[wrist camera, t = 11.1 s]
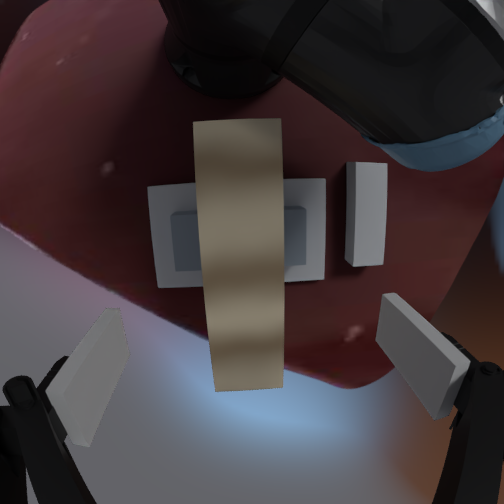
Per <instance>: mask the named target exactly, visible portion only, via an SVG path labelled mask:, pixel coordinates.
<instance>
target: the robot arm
mask: <svg viewBox="0 0 504 504" xmlns="http://www.w3.org/2000/svg"><path fill="white" fill-rule="evenodd" d="M159 2H160V5H161V7H162V9H163V11H164V13H165V15H166V18H167V20H168V24H167V27H166V31H165V38H164V44H165V52H166V55H167V58H168V61H169V63H170V65H171V66H172V68H173V70H174V71H175V73H176V74H177V76H178V77H179V78H180V79H181V80H182V81H183V82H184V83H185V84H187V85H188V86H189V87H191V88H192V89H194V90H196V91H198V92H200V93H202V94H205V95H208V96H211V97H216V98H223V99H238V98H245V97H250V96H253V95H256V94H259V93H261V92H264V91H266V90H268V89H269V88H271V87H272V86H274V85H275V84H276V83H278V82H279V81H280V80H281V79H282V78H283V77H285V78H286V79H288V80H289V81H291V82H292V83H294V84H295V85H297V86H298V87H300V88H301V89H303V90H304V91H305V92H307V93H308V94H310V95H311V96H313V97H314V98H315V99H317V100H318V101H320V102H321V103H322V104H324V105H325V106H326V107H328V108H329V109H330V110H332V111H333V112H334V113H336V114H337V115H338V116H340V117H341V118H342V119H344V120H345V121H346V122H347V123H349V124H350V125H351V126H352V127H354V128H355V129H356V130H357V131H359V132H360V134H361V136H362V137H363V138H364V139H365V140H366V141H368V142H369V143H371V144H373V145H375V146H378V147H380V148H381V149H382V150H384V151H385V152H386V153H387V154H389V155H390V156H391V157H392V158H394V159H395V160H396V161H397V162H399V163H400V164H402V165H404V166H406V167H408V168H412V169H418V170H421V171H427V172H430V171H442V170H447V169H451V168H454V167H457V166H460V165H462V164H465V163H467V162H469V161H471V160H473V159H475V158H477V157H478V156H480V155H481V154H483V153H484V152H486V151H487V150H488V149H490V148H491V147H492V146H493V145H494V144H495V143H496V142H497V141H498V140H499V139H500V138H501V137H502V135H503V134H504V0H159ZM376 342H377V343H378V344H379V345H380V347H381V348H382V349H383V351H384V352H385V353H386V355H387V356H388V357H389V359H390V360H391V361H392V363H393V364H394V366H395V367H396V368H397V369H398V371H399V372H400V373H401V375H402V376H403V378H404V379H405V380H406V382H407V383H408V385H409V386H410V387H411V389H412V390H413V391H414V393H415V394H416V395H417V397H418V398H419V400H420V401H421V402H422V404H423V405H424V407H425V408H426V410H427V411H428V412H429V414H430V415H431V417H432V418H433V420H437V419H441V418H444V417H446V416H449V414H450V412H451V410H452V407H453V405H455V407H456V408H457V409H458V411H457V414H456V416H455V418H454V420H453V422H452V424H451V426H450V428H449V429H452V427H453V430H452V435H451V439H450V444H449V448H448V452H447V456H446V460H445V463H444V467H443V471H442V474H441V477H440V481H439V484H438V487H437V490H436V493H435V496H434V499H433V502H432V504H497V500H498V495H499V488H500V481H501V472H502V464H503V461H504V370H502V369H501V368H500V367H499V366H498V365H496V364H495V363H492V362H479V361H478V360H477V359H475V357H473V356H472V355H471V354H470V353H469V352H468V351H467V350H466V349H465V348H463V346H461V345H460V344H458V342H457V341H456V340H455V339H454V338H453V337H452V336H449V335H447V334H445V333H443V332H441V333H440V332H439V331H438V330H437V329H435V328H434V327H433V326H432V325H431V324H430V323H429V322H428V321H427V320H425V319H424V318H423V317H422V316H421V315H420V314H419V313H418V312H417V311H415V310H414V309H413V308H412V307H411V306H410V305H409V304H407V303H406V302H405V301H404V300H403V299H402V298H401V297H399V296H398V295H397V294H396V293H389V294H382V302H381V309H380V316H379V322H378V329H377V335H376ZM129 356H130V352H129V348H128V344H127V340H126V336H125V331H124V327H123V322H122V318H121V313H120V309H119V308H106V309H105V310H104V311H103V313H102V314H101V315H100V316H99V318H98V319H97V320H96V322H95V323H94V324H93V326H92V327H91V328H90V330H89V331H88V332H87V333H86V335H85V336H84V338H83V339H82V340H81V341H80V343H79V344H78V346H77V347H76V348H75V350H74V351H73V352H72V354H71V355H70V356H64V357H62V358H61V359H60V360H58V361H57V362H56V363H55V364H54V365H53V367H52V368H51V371H49V372H48V373H47V376H46V377H45V378H44V379H43V381H42V382H41V383H40V384H39V386H38V387H37V389H36V387H35V385H34V383H33V381H32V379H31V378H29V377H28V376H22V375H21V376H16V377H14V378H11V379H10V380H8V381H7V382H6V383H5V385H4V386H3V393H4V395H5V397H6V399H7V400H8V402H9V404H10V406H0V504H28V501H27V486H26V468H27V472H28V475H29V478H30V481H31V484H32V487H33V490H34V492H35V495H36V497H37V500H38V503H39V504H97V503H96V502H95V500H94V498H93V496H92V495H91V493H90V491H89V490H88V488H87V486H86V484H85V482H84V480H83V478H82V476H81V475H80V473H79V471H78V469H77V467H76V465H75V462H74V460H73V458H72V456H71V454H70V452H69V450H68V448H67V446H66V444H65V442H64V440H65V438H66V436H67V435H68V436H69V438H70V440H71V441H72V443H73V444H74V445H79V446H84V447H90V446H91V443H92V441H93V438H94V436H95V434H96V431H97V429H98V426H99V424H100V422H101V419H102V417H103V414H104V412H105V410H106V407H107V405H108V403H109V400H110V398H111V396H112V394H113V391H114V389H115V387H116V385H117V383H118V380H119V378H120V376H121V374H122V372H123V369H124V367H125V365H126V363H127V361H128V359H129Z"/></svg>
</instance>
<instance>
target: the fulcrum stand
mask: <svg viewBox="0 0 504 504" xmlns="http://www.w3.org/2000/svg"><path fill="white" fill-rule="evenodd" d="M147 189H148V202H149V214H150V224H151V234H152V243H153V252H154V260H155V268H156V276H157V283H158V288H174V287H199V286H203V278H202V266H201V254H200V242H199V228H198V214H197V198H196V183H183V184H170V185H159V186H149V187H147ZM283 199H284V282H292V281H307V280H321V279H324V268H325V232H326V179H323V178H302V179H283Z"/></svg>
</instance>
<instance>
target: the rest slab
mask: <svg viewBox="0 0 504 504" xmlns="http://www.w3.org/2000/svg"><path fill="white" fill-rule="evenodd" d="M346 170H347V199H346V241H345V260H346V261H347V262H348V263H349V264H351V265H352V266H353V267H356V266H370V265H383V258H384V246H385V230H386V209H387V164H386V163H367V162H346Z"/></svg>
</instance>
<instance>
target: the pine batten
mask: <svg viewBox="0 0 504 504" xmlns="http://www.w3.org/2000/svg"><path fill="white" fill-rule="evenodd" d="M193 134H194V160H195V180H196V198H197V214H198V228H199V242H200V254H201V266H202V278H203V288H204V299H205V309H206V318H207V328H208V336H209V345H210V354H211V362H212V369H213V377H214V384H215V391H216V392H219V391H243V390H258V389H270V388H282V387H283V365H284V199H283V159H282V129H281V118H272V119H231V120H212V121H198V122H193Z"/></svg>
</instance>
